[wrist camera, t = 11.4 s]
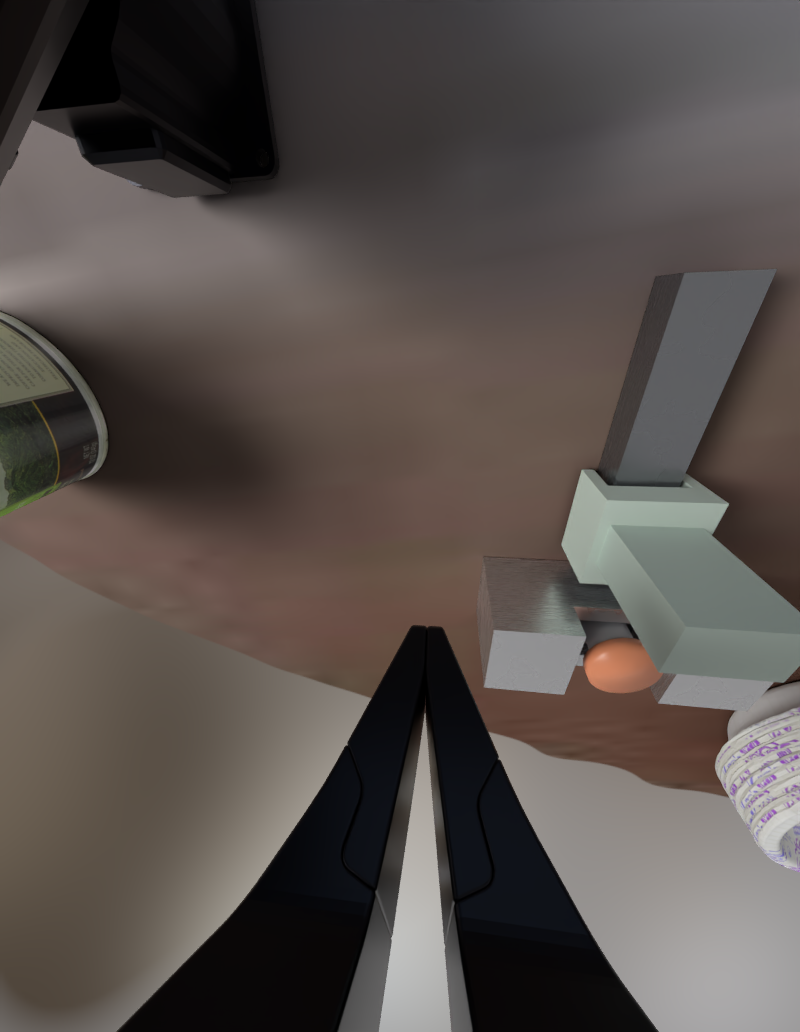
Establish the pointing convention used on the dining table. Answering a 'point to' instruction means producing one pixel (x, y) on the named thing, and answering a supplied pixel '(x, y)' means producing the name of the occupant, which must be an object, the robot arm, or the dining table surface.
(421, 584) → the dining table surface
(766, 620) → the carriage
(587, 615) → the grey blocky piece
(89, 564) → the dining table surface
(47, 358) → the coffee can
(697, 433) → the rail
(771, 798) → the paper bowls
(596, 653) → the orange knob lever
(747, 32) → the dining table surface
